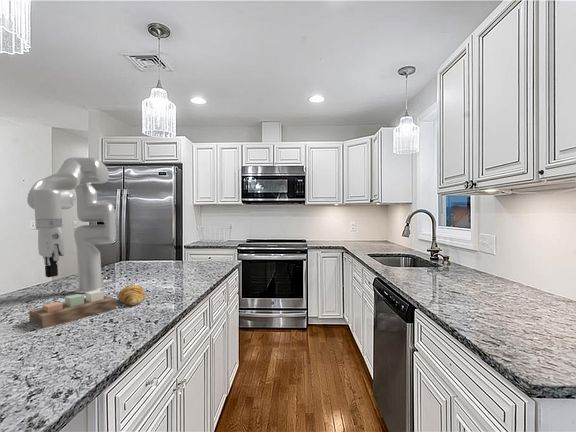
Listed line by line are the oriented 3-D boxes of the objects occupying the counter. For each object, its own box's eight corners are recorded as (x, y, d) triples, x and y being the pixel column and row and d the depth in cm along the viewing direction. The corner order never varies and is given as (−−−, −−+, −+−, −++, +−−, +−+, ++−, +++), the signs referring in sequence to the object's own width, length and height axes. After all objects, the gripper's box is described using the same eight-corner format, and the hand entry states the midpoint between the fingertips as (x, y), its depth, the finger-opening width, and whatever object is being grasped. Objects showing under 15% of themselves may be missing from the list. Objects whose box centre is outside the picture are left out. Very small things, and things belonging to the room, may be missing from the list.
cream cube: (98, 299, 130) (97, 289, 130) (103, 301, 127) (103, 291, 127) (85, 302, 126) (85, 292, 126) (91, 304, 123) (91, 294, 123)
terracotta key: (57, 312, 118) (57, 301, 118) (63, 314, 116) (62, 303, 116) (43, 316, 115) (42, 305, 114) (48, 318, 112) (47, 307, 112)
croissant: (141, 314, 131) (151, 295, 132) (116, 306, 126) (126, 287, 128) (136, 300, 149) (145, 284, 151) (114, 293, 145) (123, 276, 146)
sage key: (78, 304, 124) (78, 294, 124) (84, 306, 121) (83, 295, 121) (65, 307, 120) (64, 296, 120) (70, 309, 118) (70, 298, 118)
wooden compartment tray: (100, 304, 134) (100, 294, 134) (116, 308, 127) (115, 298, 127) (29, 321, 115) (29, 310, 114) (43, 328, 108) (42, 316, 108)
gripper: (70, 224, 113) (73, 276, 114) (52, 223, 122) (55, 272, 123) (44, 225, 107) (47, 281, 108) (28, 224, 115) (30, 276, 116)
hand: (51, 276), depth 115 cm, fingers closed
